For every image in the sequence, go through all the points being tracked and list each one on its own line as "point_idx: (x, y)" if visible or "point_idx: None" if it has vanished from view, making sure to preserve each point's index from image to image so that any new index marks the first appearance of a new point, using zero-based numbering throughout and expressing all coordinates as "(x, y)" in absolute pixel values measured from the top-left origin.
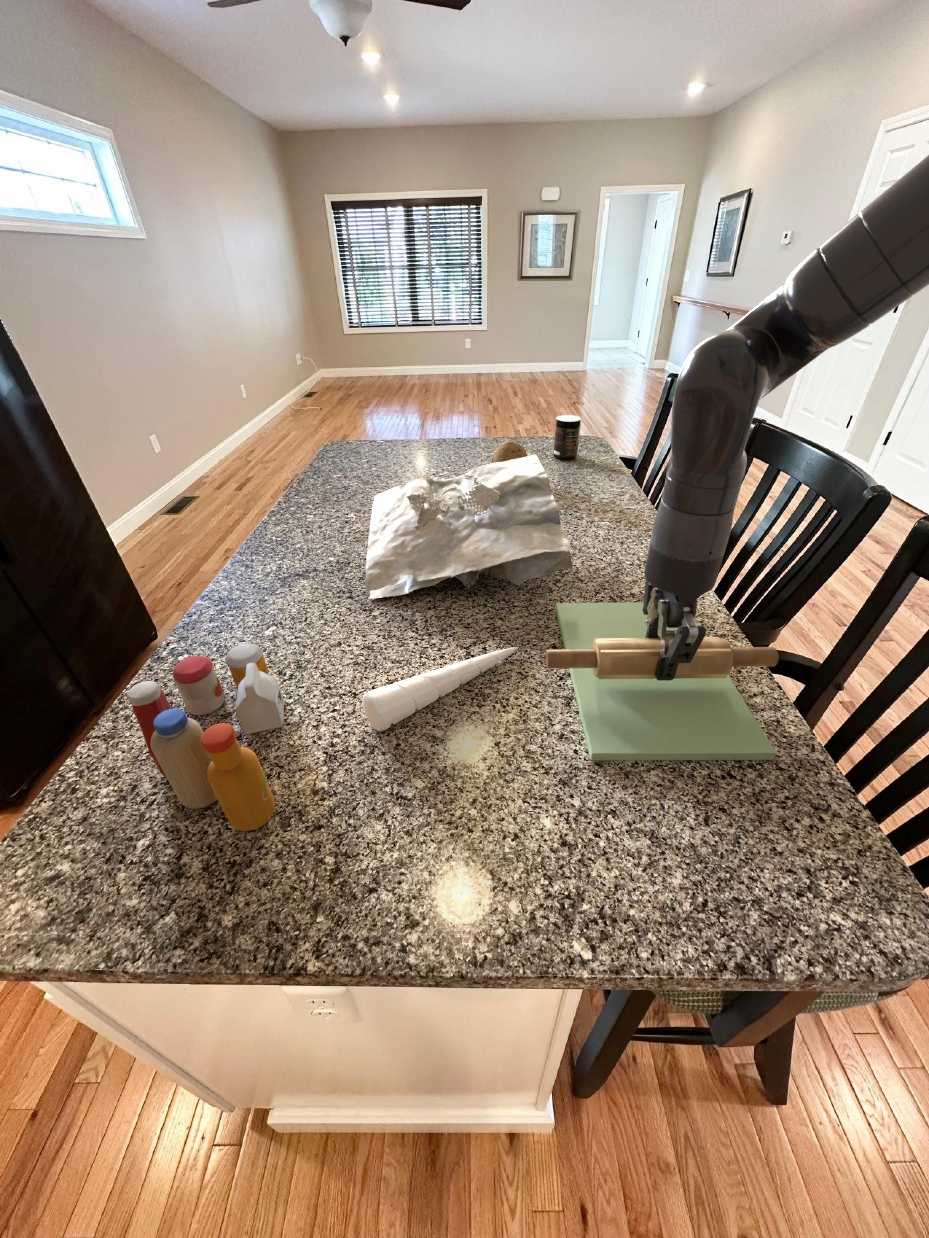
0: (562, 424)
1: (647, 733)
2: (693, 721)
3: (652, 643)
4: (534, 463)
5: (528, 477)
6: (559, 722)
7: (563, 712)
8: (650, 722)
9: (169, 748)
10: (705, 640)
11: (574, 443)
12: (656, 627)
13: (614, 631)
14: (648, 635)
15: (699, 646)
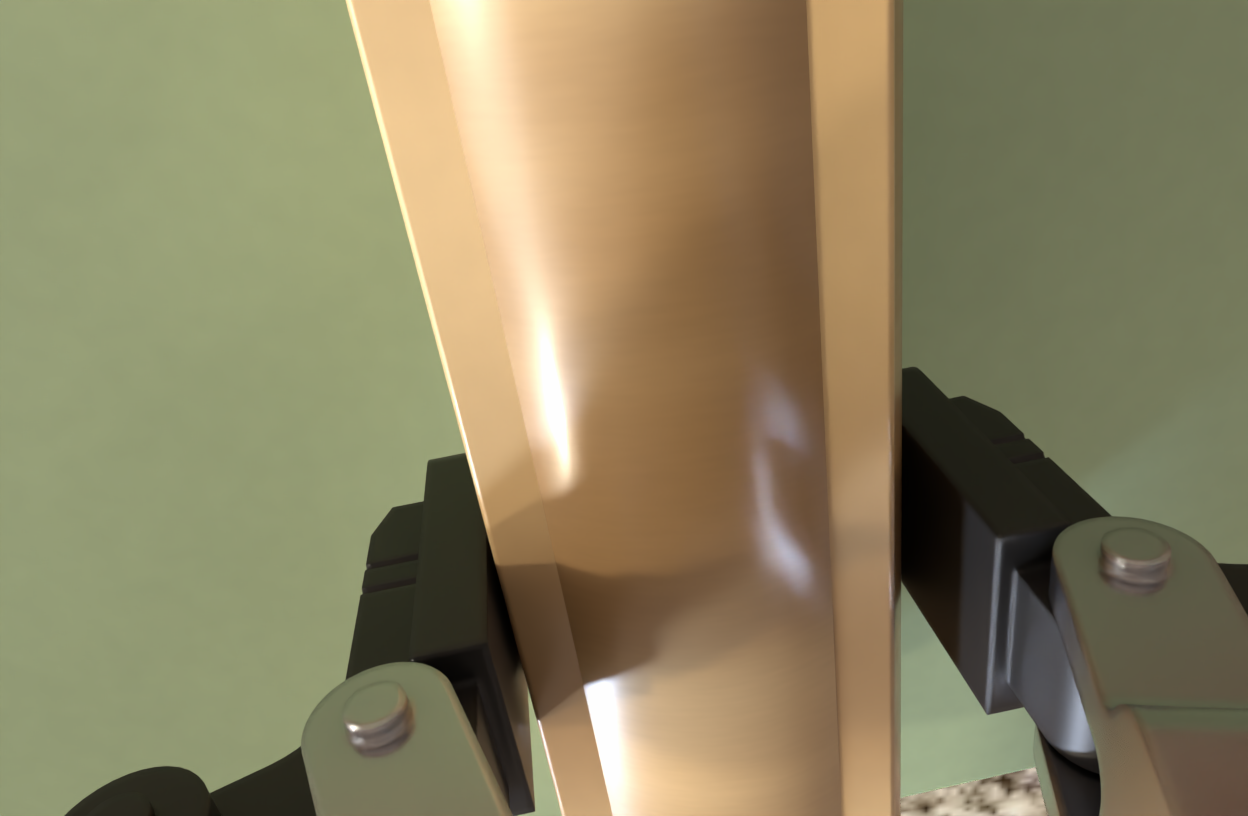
0: None
1: (1210, 465)
2: (1149, 145)
3: (761, 751)
4: None
5: None
6: (988, 806)
7: (919, 801)
8: (1120, 443)
9: None
10: (609, 89)
11: None
12: (495, 777)
13: (45, 675)
14: (529, 743)
15: (783, 219)
